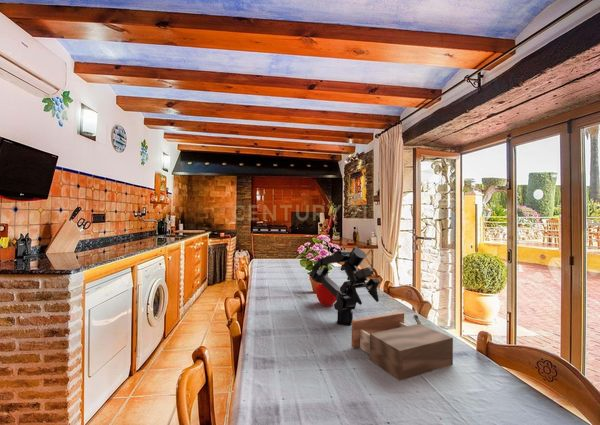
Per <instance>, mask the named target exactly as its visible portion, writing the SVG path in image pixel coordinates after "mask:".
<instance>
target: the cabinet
mask: <svg viewBox="0 0 600 425" xmlns="http://www.w3.org/2000/svg"><path fill="white" fill-rule="evenodd" d="M453 357H454V337H452V336H449V335H447V334H444V333H443V332H440V331H438V330H435V329H433V328H430V327H428V326H426V325H424V324H422V323H421V324H418V323H417V324H411V325H408V326H406V327H401V328H396V329H391V330H386V331H380V332H375V333H370V355H369V361H371V362H373V363H374V364H375V365H377V366H378V367H379V368H381V369H382V370H383V371H385V372H387V373H388V374H389V375H391V376H392V377H394V378H395V379H397V380H398V381H403V380H407V379H410V378H413V377H415V376H419V375H423V374H426V373H429V372H433V371H436V370H440V369H443V368H447V367H449V366H450V367H451V366H453V364H454V358H453Z"/></svg>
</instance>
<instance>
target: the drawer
mask: <svg viewBox="0 0 600 425" xmlns="http://www.w3.org/2000/svg"><path fill="white" fill-rule="evenodd" d="M406 326H409V325H408V324H405V312H403V311H399V312H393V313H387V314H382V315H381V314H380V315H375V316H369V317H363V318H357V319H353V320H352V323H351V348H353V349H357V348H359V349H361V350H362V351H363V352H365V353H366V354H368V355H369V356H370V333H375V332H380V331H386V330H391V329H396V328H401V327H406Z"/></svg>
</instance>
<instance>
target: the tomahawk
mask: <svg viewBox="0 0 600 425" xmlns="http://www.w3.org/2000/svg"><path fill="white" fill-rule="evenodd" d="M413 316H414V319H415V321H416V323H417V324H422V322H421V320H420V319H419V316H418V315H417V314H413Z"/></svg>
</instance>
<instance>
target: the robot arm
mask: <svg viewBox="0 0 600 425" xmlns="http://www.w3.org/2000/svg"><path fill="white" fill-rule="evenodd" d="M366 257H367V255H366V252H365V251H363V250H362V249H360V248H359V247H358V246H353V248H352V250H351V251H350V250H349V249H341V250H340V249H339V250H336V251H334V252H333V254H331V255H328V256H325V257H320V258H318V259H317V261H316V263H315V264H314V265H313V266H312V268H311V271H310V278H311V279H312V281H313V282H315V283H318V284H322V285H323V286H325V287H326V288H327V289H328V290H329V291H330V292H331V293H332V294H333V295H334V296H335V297H336V301H335V303H334V304H333V308H334V310H336V311H337V321H336V324H337V325H344V326H345V325H346V326H352V320H354V318H353V317H354V312H353V310H356V306H357V304H359V305H360V306H362V304H363V302H362V300H361V298H360V296H359V294H358V292H357V289H361V288H366V289H367V293H368V294H369V295H370V297H372V298H373V299H374V301H376V303H379V300H380V299H379V295H378V286H379V285H380V284H381V281H380V280H379V278H377V277H373V278H369V277H372V275H373V274H374V270H373V268H372V267H371V266H368V267H366V268H362V269H358V267H359V266H360V265H361V264H362V262H363V261H364V260H365V258H366ZM336 263H338V264H339V263H343V264H341V267H340V271H341V272H342V271H344V272H345V274H346V276H347V278H346V281H344V282H342V284H341V285H340V286H339V285H338V284H337V283H336V282H334V281H333V280H332V279H331V278H330V277H329V267H328V266H329V265H331V264H332V265H333V264H336ZM321 267H324V268H321ZM368 278H369V279H368ZM367 280H368V281H367Z"/></svg>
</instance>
